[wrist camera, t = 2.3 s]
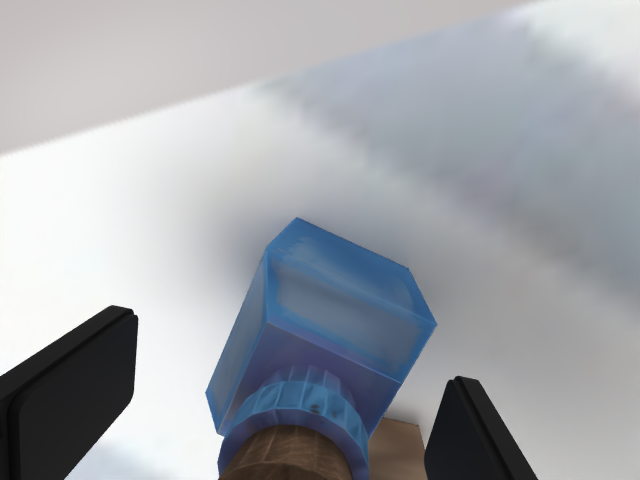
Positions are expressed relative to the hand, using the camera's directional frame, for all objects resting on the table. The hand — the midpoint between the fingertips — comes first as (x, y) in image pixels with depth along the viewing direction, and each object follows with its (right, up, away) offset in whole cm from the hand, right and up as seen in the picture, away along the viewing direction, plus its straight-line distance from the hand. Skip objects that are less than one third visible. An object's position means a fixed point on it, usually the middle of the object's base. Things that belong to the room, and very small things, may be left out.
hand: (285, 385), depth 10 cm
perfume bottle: (+1, +1, +8) cm, 8 cm away
